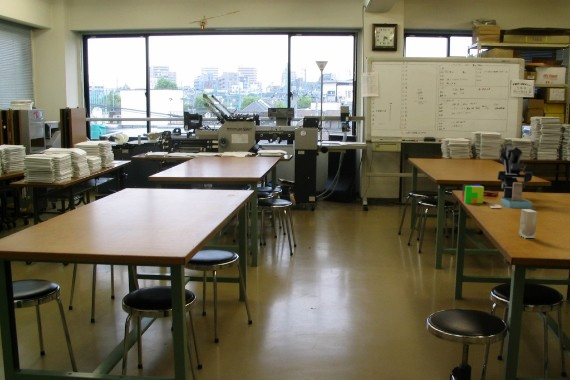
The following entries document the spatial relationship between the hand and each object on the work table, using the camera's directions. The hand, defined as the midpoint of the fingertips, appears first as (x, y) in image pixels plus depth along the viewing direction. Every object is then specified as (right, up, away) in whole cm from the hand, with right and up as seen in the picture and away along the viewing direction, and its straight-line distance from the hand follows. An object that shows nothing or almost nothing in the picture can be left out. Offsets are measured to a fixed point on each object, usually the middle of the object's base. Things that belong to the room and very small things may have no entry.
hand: (515, 187), depth 330 cm
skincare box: (-29, -23, -84) cm, 91 cm away
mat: (-2, -11, -6) cm, 13 cm away
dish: (-2, -11, -6) cm, 12 cm away
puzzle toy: (-23, -9, +7) cm, 26 cm away
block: (-2, -10, -6) cm, 12 cm away
